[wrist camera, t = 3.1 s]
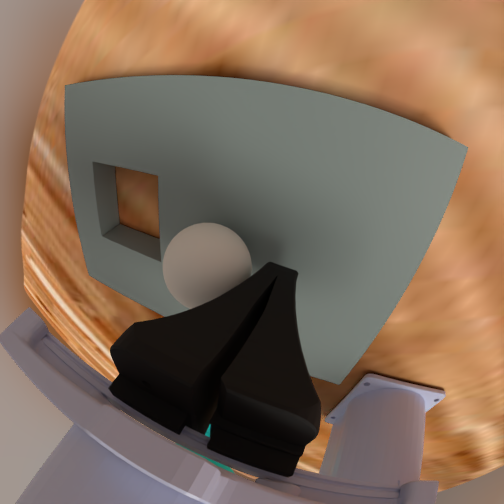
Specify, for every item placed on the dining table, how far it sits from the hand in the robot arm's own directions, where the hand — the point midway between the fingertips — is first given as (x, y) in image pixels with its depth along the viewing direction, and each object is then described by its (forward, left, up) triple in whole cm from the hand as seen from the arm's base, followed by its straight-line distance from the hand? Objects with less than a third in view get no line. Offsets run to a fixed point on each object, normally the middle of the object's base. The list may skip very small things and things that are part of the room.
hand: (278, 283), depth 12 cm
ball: (0, +3, +1) cm, 3 cm away
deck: (0, +5, -3) cm, 6 cm away
